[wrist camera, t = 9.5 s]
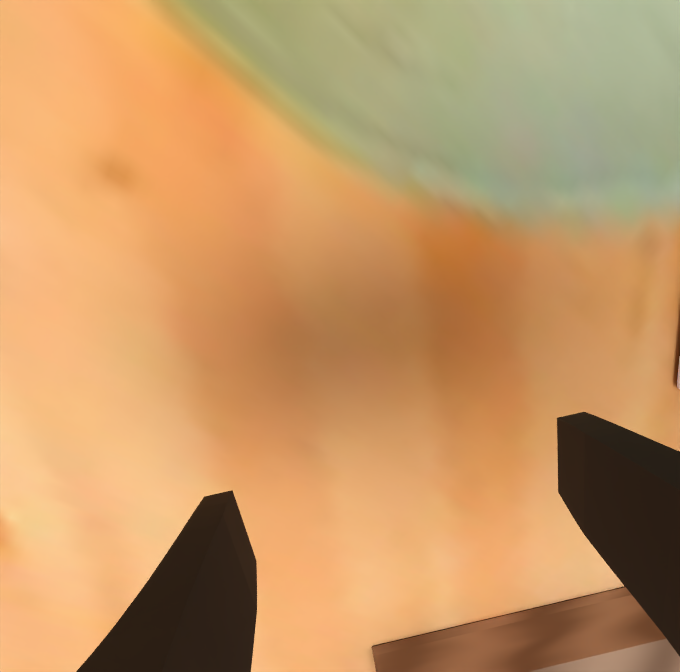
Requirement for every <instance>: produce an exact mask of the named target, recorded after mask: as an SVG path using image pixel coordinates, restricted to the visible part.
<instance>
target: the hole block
mask: <svg viewBox="0 0 680 672" xmlns="http://www.w3.org/2000/svg"><path fill="white" fill-rule="evenodd" d="M372 650H373V655H374V661H375V667H376V672H680V656H679V655H678V654H677V652H676V651H675V650H674V648H673V647H672V646H671V644H670V643H669V642H668V640H667V639H666V637H665V636H664V635H663V633H662V632H661V631H660V630H659V628H658V627H657V626H656V625H655V623H654V622H653V621H652V620H651V618H650V617H649V616H648V615H647V613H646V612H645V611H644V610H643V608H642V607H641V606H640V604H639V603H638V602H637V601H636V599H635V598H634V597H633V596H632V594H631V593H630V592H629V591H628V589H627V588H626V587H624V588H619V589H615V590H611V591H607V592H602V593H598V594H594V595H590V596H585V597H581V598H577V599H573V600H568V601H564V602H560V603H556V604H551V605H547V606H543V607H539V608H534V609H530V610H526V611H522V612H517V613H513V614H509V615H505V616H500V617H496V618H492V619H488V620H483V621H479V622H475V623H471V624H466V625H462V626H458V627H454V628H449V629H445V630H441V631H437V632H432V633H428V634H424V635H420V636H415V637H411V638H407V639H403V640H398V641H394V642H390V643H386V644H381V645H377V646H373V647H372Z"/></svg>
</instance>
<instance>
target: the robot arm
mask: <svg viewBox="0 0 680 672" xmlns="http://www.w3.org/2000/svg"><path fill="white" fill-rule="evenodd" d="M677 387H678V389H679V390H680V358H679V369H678V379H677ZM557 437H558V492H559V494H560V496H561V497H562V499H563V501H564V502H565V504H566V506H567V508H568V509H569V511H570V513H571V514H572V516H573V518H574V519H575V521H576V522H577V524H578V525H579V527H580V529H581V530H582V532H583V533H584V535H585V536H586V537H587V539H588V540H589V541H590V543H591V544H592V545H593V546H594V548H595V549H596V550H597V552H598V553H599V554H600V555H601V557H602V558H603V559H604V560H605V562H606V563H607V564H608V566H609V567H610V568H611V569H612V571H613V572H614V573H615V574H616V576H617V577H618V578H619V579H620V581H621V582H622V583H623V584H624V586H625V587H626V588H627V589H628V591H629V592H630V593H631V594H632V596H633V597H634V598H635V599H636V601H637V602H638V603H639V604H640V606H641V607H642V608H643V610H644V611H645V612H646V613H647V615H648V616H649V617H650V618H651V620H652V621H653V622H654V623H655V625H656V626H657V627H658V628H659V630H660V631H661V632H662V633H663V635H664V636H665V637H666V639H667V640H668V642H669V643H670V644H671V646H672V647H673V648H674V650H675V651H676V652H677V654H678V655H679V656H680V452H679V451H677V450H674V449H672V448H670V447H667V446H665V445H662V444H660V443H658V442H655V441H653V440H651V439H648V438H646V437H644V436H642V435H639V434H637V433H635V432H632V431H630V430H628V429H625V428H623V427H621V426H618V425H616V424H614V423H611V422H609V421H606V420H604V419H602V418H599V417H597V416H594V415H591V414H589V413H586V412H582V413H577V414H573V415H568V416H564V417H559V418H557ZM256 614H257V569H256V559H255V556H254V553H253V550H252V547H251V544H250V541H249V538H248V535H247V532H246V529H245V526H244V523H243V520H242V517H241V514H240V511H239V509H238V506H237V503H236V500H235V497H234V494H233V491H228V492H223V493H219V494H214V495H210V496H205V497H204V498H203V499H202V501H201V502H200V504H199V505H198V507H197V508H196V510H195V511H194V513H193V514H192V516H191V517H190V519H189V520H188V522H187V523H186V525H185V526H184V528H183V530H182V531H181V533H180V534H179V536H178V537H177V539H176V540H175V542H174V543H173V545H172V546H171V548H170V549H169V551H168V552H167V554H166V555H165V557H164V558H163V560H162V561H161V563H160V564H159V565H158V567H157V568H156V570H155V571H154V573H153V574H152V576H151V577H150V579H149V580H148V581H147V583H146V584H145V586H144V587H143V588H142V590H141V591H140V593H139V594H138V595H137V597H136V598H135V599H134V601H133V602H132V603H131V605H130V606H129V607H128V609H127V610H126V611H125V613H124V614H123V615H122V617H121V618H120V619H119V621H118V622H117V623H116V625H115V626H114V627H113V628H112V630H111V631H110V632H109V633H108V635H107V636H106V637H105V638H104V640H103V641H102V642H101V643H100V645H99V646H98V647H97V648H96V649H95V651H94V652H93V653H92V654H91V655H90V657H89V658H88V659H87V660H86V661H85V662H84V663H83V665H82V666H81V667H80V668H79V669H78V670H77V672H251V663H252V654H253V644H254V634H255V624H256Z"/></svg>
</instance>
